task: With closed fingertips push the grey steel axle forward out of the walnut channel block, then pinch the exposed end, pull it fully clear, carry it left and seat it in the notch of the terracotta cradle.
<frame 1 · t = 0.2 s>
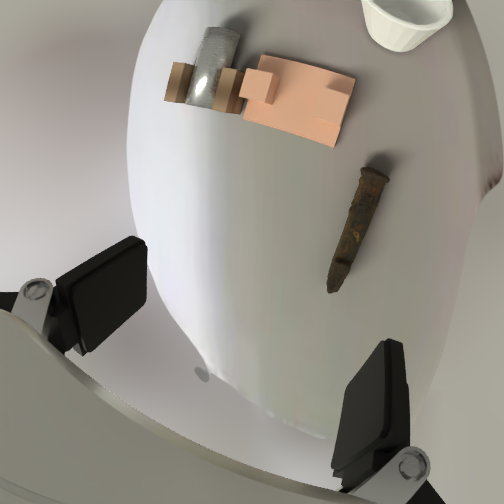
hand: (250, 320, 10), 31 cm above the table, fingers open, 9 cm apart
axle: (220, 71, 35), on the table
hand tool: (356, 231, 38), on the table
channel block: (214, 89, 36), on the table
cradle: (298, 98, 33), on the table
cup: (392, 30, 24), on the table
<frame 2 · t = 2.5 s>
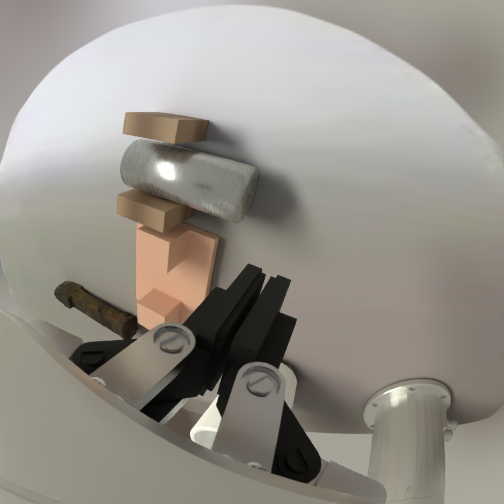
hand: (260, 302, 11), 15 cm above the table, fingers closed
axle: (199, 170, 26), on the table, tilted 6°
hand tool: (99, 301, 42), on the table
channel block: (174, 163, 27), on the table
cradle: (173, 270, 32), on the table
cup: (270, 371, 34), on the table
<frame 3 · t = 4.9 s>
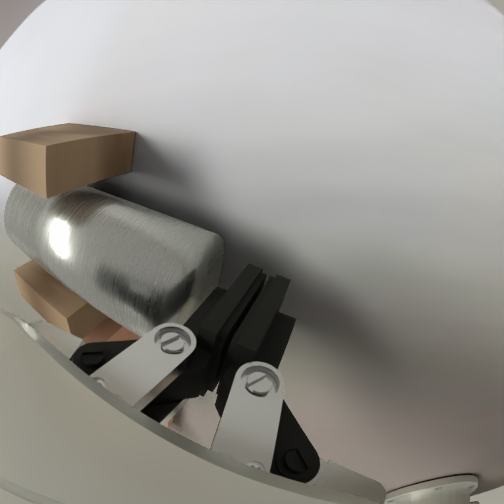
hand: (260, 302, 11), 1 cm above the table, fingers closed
axle: (125, 224, 14), on the table, touching gripper
channel block: (93, 211, 14), on the table
cradle: (122, 359, 20), on the table
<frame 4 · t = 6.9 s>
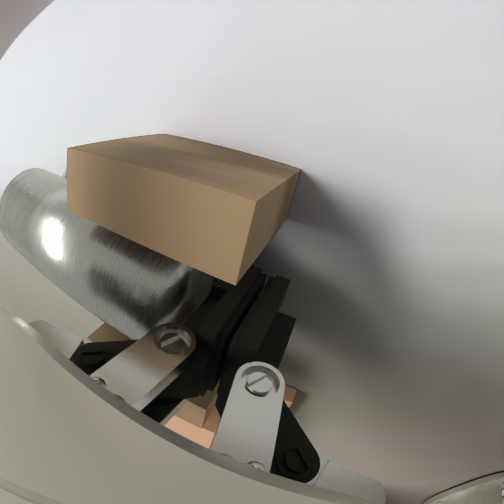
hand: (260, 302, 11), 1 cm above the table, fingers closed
axle: (119, 224, 14), on the table, touching gripper
channel block: (204, 258, 13), on the table
cradle: (204, 406, 18), on the table
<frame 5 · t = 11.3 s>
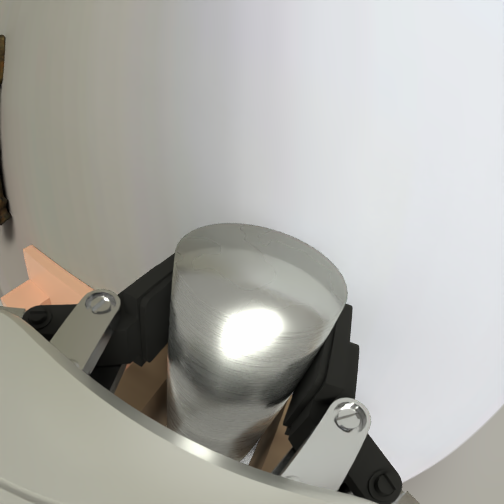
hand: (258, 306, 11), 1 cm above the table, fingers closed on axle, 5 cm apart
axle: (244, 343, 13), on the table, touching gripper
channel block: (228, 399, 15), on the table
cradle: (84, 327, 19), on the table
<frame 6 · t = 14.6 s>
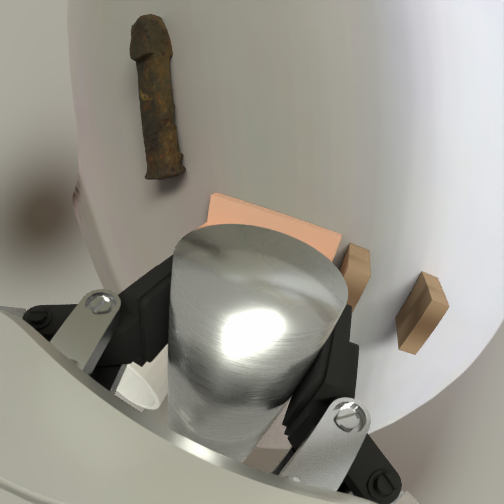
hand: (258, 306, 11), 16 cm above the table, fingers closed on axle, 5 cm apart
axle: (244, 344, 13), point 16 cm above the table, touching gripper
hand tool: (164, 92, 25), on the table
channel block: (384, 286, 25), on the table
cradle: (264, 256, 29), on the table
cup: (179, 321, 38), on the table
when the fingers open (4 cm above the table, at t = 17.9 s): axle drops 2 cm, resting on cradle.
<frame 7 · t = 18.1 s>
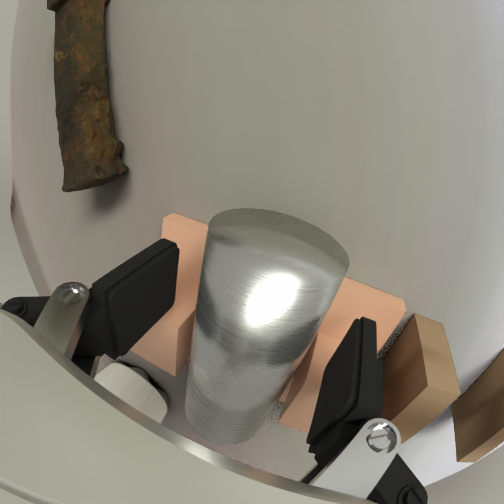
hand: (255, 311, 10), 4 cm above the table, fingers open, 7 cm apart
axle: (257, 319, 15), point 1 cm above the table, tilted 5°, touching cradle
hand tool: (99, 52, 13), on the table
channel block: (448, 371, 13), on the table
cradle: (261, 326, 16), on the table
cup: (142, 383, 25), on the table
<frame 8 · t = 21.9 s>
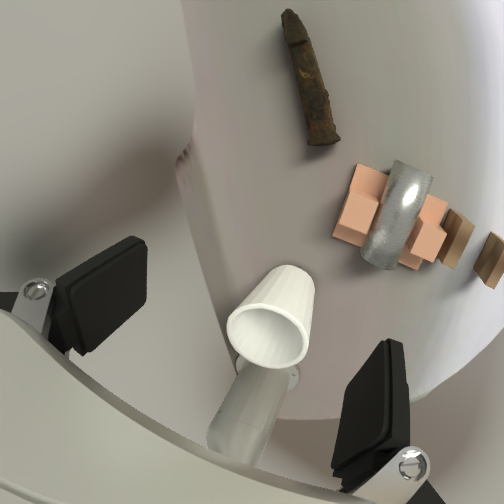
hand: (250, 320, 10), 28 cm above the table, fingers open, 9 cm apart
axle: (393, 209, 31), point 1 cm above the table, touching cradle
hand tool: (306, 76, 29), on the table
channel block: (468, 242, 30), on the table
cradle: (390, 217, 33), on the table
cup: (290, 284, 42), on the table
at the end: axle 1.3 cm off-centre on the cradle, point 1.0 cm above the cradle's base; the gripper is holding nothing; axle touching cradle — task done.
